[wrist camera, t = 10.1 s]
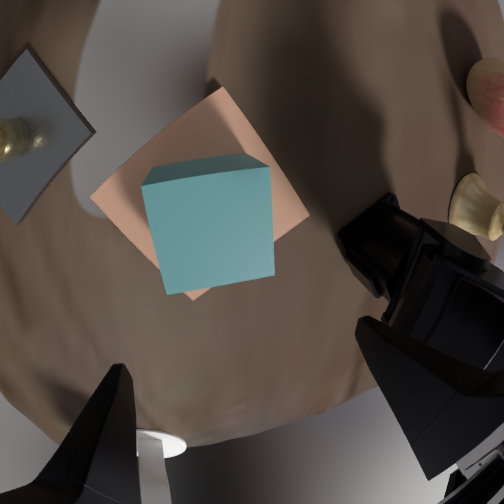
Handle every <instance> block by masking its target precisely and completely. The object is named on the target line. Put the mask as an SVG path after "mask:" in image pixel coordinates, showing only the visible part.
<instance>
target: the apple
mask: <svg viewBox="0 0 504 504" xmlns="http://www.w3.org/2000/svg"><path fill="white" fill-rule="evenodd" d="M466 88H467V93H468V97H469V99H470V102H471V105H472V107H473V109H474V110H475V112H476V113H477V115H478V116H479V117H480V119H481V120H482V121H483V122H484V123H485V124H486V125H487V126H488V127H489V128H490V129H491V130H493V131H494V132H495V133H497V134H498V135H500V136H502V137H504V60H503V59H499V58H486V59H482V60H480V61H478V62H476V63H475V64H474V65H473V67H472V68H471V69H470V71H469V74H468V77H467V82H466Z"/></svg>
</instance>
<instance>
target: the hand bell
mask: <svg viewBox="0 0 504 504" xmlns="http://www.w3.org/2000/svg"><path fill="white" fill-rule="evenodd" d="M448 220H449V223H451V224H454V225H456V226H458V227H460V228H462V229H464V230H465V231H467V232H469V233H471V234H476V235H480V236H483V237H485V238H488V239H490V240H496V239H497V238H498V237H499V236H500V235H501V234H504V204H503V203H502V202H500V201H499V200H497V199H496V198H495V197H493V196H492V195H491V194H490V193H489V192H488V191H487V189H486V188H485V186H484V183H483V181H482V179H481V178H480V177H479V176H478V175H477V174H475V173H469V174H467V175H466V176H464V177H463V179H462V180H461V181H460V182H459V184H458V186H457V188H456V190H455V192H454V194H453V197H452V200H451V204H450V209H449V219H448Z"/></svg>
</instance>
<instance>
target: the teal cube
mask: <svg viewBox="0 0 504 504" xmlns="http://www.w3.org/2000/svg"><path fill="white" fill-rule="evenodd" d="M141 188H142V194H143V199H144V204H145V208H146V213H147V218H148V222H149V227H150V231H151V236H152V240H153V244H154V248H155V252H156V256H157V260H158V264H159V268H160V271H161V275H162V279H163V282H164V286H165V289H166V293H167V295H170V294H176V293H182V292H187V291H193V290H199V289H204V288H210V287H215V286H221V285H226V284H232V283H237V282H242V281H247V280H253V279H258V278H263V277H268V276H273V275H275V268H274V240H273V216H272V194H271V174H270V166H268V165H266V164H265V163H263V162H261V161H259V160H258V159H256V158H254V157H252V156H251V155H249V154H247V153H242V154H233V155H225V156H217V157H210V158H203V159H196V160H189V161H183V162H177V163H172V164H166V165H161V166H155V167H152V169H151V170H150V172H149V174H148V175H147V177H146V179H145V180H144V182H143V184H142V186H141Z"/></svg>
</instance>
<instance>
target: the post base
mask: <svg viewBox="0 0 504 504" xmlns="http://www.w3.org/2000/svg"><path fill="white" fill-rule="evenodd" d="M95 133H96V131H95V130H94V128H93V127H92V126H91V125H90V123H89V122H88V121H87V120H86V118H85V117H84V116H83V115H82V113H81V112H80V111H79V110H78V108H77V107H76V106H75V104H74V103H73V102H72V101H71V99H70V98H69V97H68V96H67V94H66V93H65V92H64V90H63V89H62V88H61V87H60V85H59V84H58V83H57V81H56V80H55V79H54V77H53V76H52V75H51V73H50V72H49V71H48V69H47V68H46V67H45V65H44V64H43V63H42V61H41V60H40V59H39V57H38V56H37V55H36V53H35V52H34V51H32V50H29V49H26V50H25V51H24V52H23V53H22V54H21V56H20V57H19V58H18V59H17V60H16V62H15V63H14V64H13V65H12V66H11V68H10V69H9V70H8V71H7V73H6V74H5V75H4V76H3V78H2V79H1V80H0V206H1V207H2V209H3V210H4V211H5V212H6V214H7V215H8V216H9V217H10V219H11V220H12V221H13V222H14V223H15V224H16V226H17V225H18V224H19V223H20V222H21V221H22V220H24V218H25V217H26V215H27V214H28V212H29V211H30V209H31V208H32V207H33V205H34V204H35V202H36V201H37V200H38V198H39V197H40V196H41V194H42V193H43V192H44V191H45V189H46V188H47V187H48V185H49V184H50V183H51V182H52V180H53V179H54V178H55V177H56V176H57V174H58V173H59V172H60V171H61V170H62V169H63V167H64V166H65V165H66V164H67V163H68V162H69V161H70V159H71V158H72V157H73V156H74V154H76V153H77V152H78V151H79V149H80V148H81V147H82V146H83V145H84V144H85V143H86V142H87V141H88V140H89V139H90V138H91V137H92V136H93V135H94V134H95Z"/></svg>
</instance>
